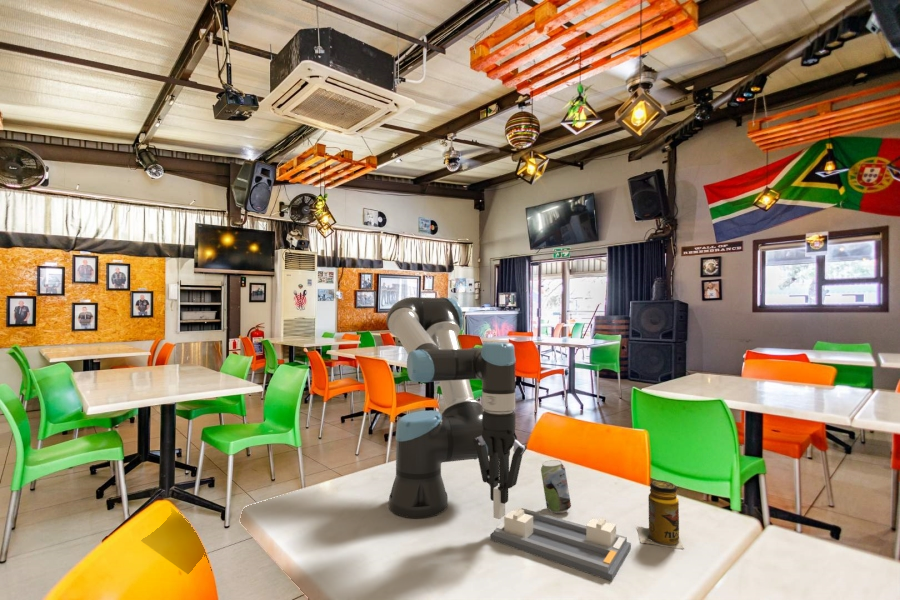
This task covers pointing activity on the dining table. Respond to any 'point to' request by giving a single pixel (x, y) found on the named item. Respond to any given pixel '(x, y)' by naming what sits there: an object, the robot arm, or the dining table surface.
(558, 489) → the beverage can
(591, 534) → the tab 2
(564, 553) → the switch bank
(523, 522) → the tab
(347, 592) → the dining table surface
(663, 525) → the condiment
